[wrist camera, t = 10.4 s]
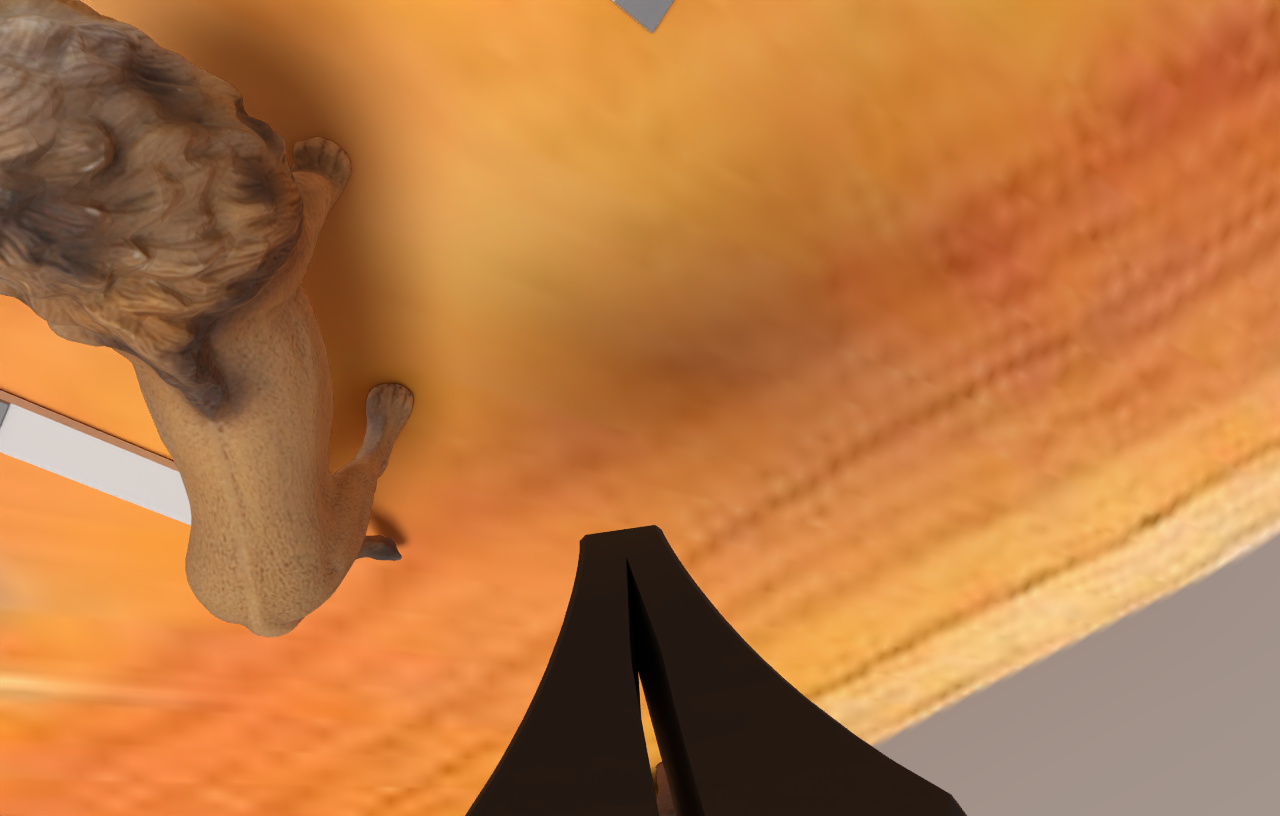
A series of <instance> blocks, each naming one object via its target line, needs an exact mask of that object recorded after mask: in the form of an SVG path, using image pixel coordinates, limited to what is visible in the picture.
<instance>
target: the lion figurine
mask: <svg viewBox="0 0 1280 816" xmlns="http://www.w3.org/2000/svg"><path fill="white" fill-rule="evenodd" d="M350 173H351V164H350V159H349V156H348V155H347V154H346V153H345V152H344V151H343V150H342V149H341V148H340V147H339V146H338V145H337V144H336V143H334V142H333V141H330V140H327V139H325V138H321V137H313V138H310V139H308V140H303V141H298V142H296V143H295V145H294V148H293V166H292V167H291V168H290V167H289V164H288V162H287V155H286V145H285V142H284V139H283V137H282V136H280V135H279V134H278V133H277V132H276V131H274V130H273V129H272V128H271V127H270V126H269V125H268V124H266V123H264V122H262V121H260V120H257V119H254V118H251V117H249V116H248V115H247V113H246V112H245V110H244V107H243V99H242V97H241V95H240V94H239V93H238V92H237V90H236V89H235V88H234V87H233V86H232V85H231V84H229V83H228V82H227V81H225V80H223V79H221V78H219V77H217V76H214V75H212V74H210V73H209V72H207V71H205V70H203V69H201V68H199V67H197V66H195V65H193V64H192V63H190V62H189V61H188V60H187V59H185V58H184V57H182V56H181V55H179V54H177V53H174V52H172V51H169V50H166V49H163V48H162V47H160V46H159V45H158V44H157V43H155V42H154V41H153V40H152V39H151V38H150V37H148V36H147V35H146V34H145V33H144V32H143V31H141V30H139V29H137V28H135V27H133V26H131V25H129V24H126V23H123V22H118V21H116V20H115V19H113V18H110V17H106V16H103V15H100V14H99V13H97V12H96V11H95V10H93V9H92V8H90V7H89V6H87V5H86V4H85V3H83V2H81V1H80V0H0V294H1V295H6V296H11V297H15V298H17V299H19V300H21V301H22V302H23V303H25V304H26V305H27V306H29V307H30V308H31V309H32V310H33V311H34V312H35V313H36V314H37V315H38V316H40V317H41V318H43V319H44V320H46V321H47V322H48V325H49V327H50V328H51V330H52V331H54V332H55V333H56V334H57V335H58V336H60V337H62V338H64V339H67V340H69V341H74V342H78V343H83V344H87V345H92V346H107V347H111V348H113V349H114V350H115V351H116V352H118V353H119V354H121V355H122V356H124V357H125V358H127V359H128V360H129V361H130V362H131V363H132V364H133V366H134V369H135V372H136V375H137V379H138V382H139V385H140V388H141V391H142V394H143V397H144V399H145V402H146V404H147V407H148V409H149V412H150V414H151V416H152V419H153V421H154V423H155V426H156V428H157V431H158V433H159V435H160V438H161V440H162V442H163V443H164V445H165V447H166V448H167V450H168V452H169V453H170V455H171V457H172V458H173V460H174V462H175V465H176V467H177V469H178V471H179V473H180V475H181V478H182V481H183V484H184V487H185V490H186V493H187V496H188V500H189V503H190V509H191V532H190V538H189V544H188V550H187V555H186V575H187V580H188V583H189V585H190V587H191V589H192V591H193V593H194V594H195V596H196V598H197V599H198V600H199V601H200V602H201V603H202V605H203V606H204V607H205V608H206V609H207V610H208V611H209V612H210V613H211V614H213V615H214V616H215V617H217V618H219V619H221V620H223V621H226V622H229V623H235V624H241V625H243V626H245V627H246V628H248V629H249V630H250V631H251V632H252V633H254V634H256V635H259V636H264V637H278V636H282V635H285V634H287V633H289V632H290V631H292V630H293V629H294V628H295V627H296V626H297V625H298V623H299V622H300V621H301V620H302V619H303V618H304V617H305V616H306V615H308V614H310V613H311V612H313V611H314V610H315V609H317V608H318V607H320V606H321V605H322V604H323V603H324V602H325V601H326V600H327V599H328V598H330V597H331V595H332V594H333V593H334V592H335V591H336V589H337V588H338V586H339V585H340V583H341V582H342V580H343V579H344V577H345V576H346V574H347V572H348V571H349V569H350V568H351V566H352V564H353V563H354V561H355V560H356V559H358V558H363V557H370V558H373V559H376V560H393V561H395V560H400V559H401V557H402V556H401V554H400V553H399V552H398V549H397V547H396V544H395V543H394V541H393V540H392V539H391V538H389V537H385V536H381V535H376V536H365V535H366V531H367V527H368V523H369V518H370V514H371V509H372V504H373V498H374V493H375V490H376V485H377V479H378V478H379V477H380V476H381V474H382V473H383V472H384V470H385V468H386V466H387V463H388V459H389V456H390V453H391V450H392V447H393V444H394V442H395V440H396V438H397V436H398V434H399V432H400V431H401V429H402V428H403V426H404V425H405V423H406V422H407V420H408V418H409V416H410V414H411V411H412V407H413V397H412V394H411V393H410V392H409V391H408V390H407V389H406V388H405V387H403V386H402V385H398V384H381V385H378V386H375V387H374V388H373V389H372V390H371V391H370V393H369V395H368V398H367V401H366V413H367V430H366V434H365V438H364V442H363V445H362V447H361V449H360V450H359V452H358V453H357V455H356V457H355V459H354V460H353V461H351V462H350V463H348V464H346V465H345V466H343V467H342V468H341V469H339V470H338V471H337V472H336V473H335V474H334V475H331V474H330V472H329V457H328V454H329V446H330V439H331V430H332V420H333V388H332V378H331V373H330V367H329V362H328V356H327V351H326V347H325V343H324V340H323V337H322V334H321V331H320V328H319V325H318V322H317V319H316V317H315V314H314V310H313V307H312V304H311V302H310V300H309V298H308V296H307V294H306V292H305V290H304V288H303V287H302V284H301V281H302V279H303V278H304V275H305V273H306V271H307V268H308V266H309V263H310V261H311V259H312V256H313V254H314V250H315V247H316V243H317V239H318V236H319V233H320V230H321V228H322V226H323V224H324V222H325V219H326V216H327V214H328V212H329V211H330V209H331V208H332V206H333V205H334V204H335V202H336V201H337V199H338V198H339V196H340V194H341V193H342V191H343V190H344V188H345V185H346V183H347V181H348V179H349V176H350Z"/></svg>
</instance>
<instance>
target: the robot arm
mask: <svg viewBox="0 0 1280 816" xmlns="http://www.w3.org/2000/svg"><path fill="white" fill-rule="evenodd" d="M638 672H639V676H640V679H641V683H642V687H643V691H644V695H645V698H646V702H647V706H648V710H649V714H650V717H651V721H652V725H653V728H654V732H655V736H656V740H657V743H658V747H659V751H660V755H661V758H662V762H663V766H664V770H665V773H666V777H667V781H668V785H669V788H670V793H671V797H672V801H673V806H674V810H675V815H676V816H967V815H966V814H965V812H964V811H963V810H962V808H961V807H960V806H959V804H958V803H957V801H956V800H955V799H954V798H953V796H952V795H951V794H949V793H947V792H946V791H944V790H942V789H941V788H939V787H937V786H936V785H934V784H932V783H930V782H928V781H927V780H925V779H924V778H922V777H920V776H918V775H917V774H915V773H913V772H912V771H910V770H908V769H906V768H904V767H903V766H901V765H899V764H898V763H896V762H895V761H893V760H891V759H889V758H888V757H887V756H885V755H883V754H882V753H881V752H879V751H878V750H877V749H875V748H874V747H872V746H871V745H869V744H868V743H866V742H865V741H863V740H862V739H860V738H859V737H857V736H856V735H854V734H853V733H852V732H850V731H849V730H848V729H847V728H845V727H844V726H843V725H841V724H840V723H839V722H837V721H836V720H835V719H833V718H832V717H831V716H829V715H828V714H827V713H825V712H824V711H823V710H822V709H820V708H819V707H818V706H816V705H815V704H814V703H812V702H811V701H810V700H808V699H807V698H806V697H805V696H804V695H802V694H801V693H800V692H799V691H798V690H797V689H795V688H794V687H793V686H792V685H791V684H790V683H789V682H787V681H786V680H785V679H784V678H783V677H782V676H781V675H779V674H778V673H777V672H776V671H775V670H774V669H773V668H772V667H771V666H770V665H769V664H768V663H767V662H765V661H764V660H763V659H762V658H761V657H760V656H759V655H758V654H757V653H756V652H755V651H754V650H753V649H752V648H751V647H750V646H749V645H748V644H747V643H746V642H745V640H744V639H743V638H742V637H741V636H740V635H739V634H738V633H737V632H736V631H735V630H734V629H733V627H732V626H731V625H730V624H729V623H728V622H727V621H726V620H725V619H724V617H723V616H722V615H721V614H720V613H719V612H718V610H717V609H716V608H715V607H714V606H713V604H712V603H711V602H710V601H709V599H708V598H707V597H706V596H705V594H704V593H703V592H702V591H701V589H700V588H699V587H698V586H697V584H696V583H695V582H694V580H693V579H692V577H691V576H690V575H689V573H688V572H687V571H686V569H685V568H684V566H683V565H682V563H681V562H680V560H679V559H678V557H677V556H676V554H675V553H674V551H673V550H672V548H671V546H670V545H669V543H668V541H667V539H666V538H665V536H664V534H663V532H662V530H661V529H660V528H659V527H657V526H656V525H651V526H644V527H637V528H631V529H624V530H617V531H610V532H603V533H596V534H589V535H585V536H584V537H583V538H582V539H581V540H580V553H579V561H578V567H577V573H576V578H575V582H574V586H573V591H572V594H571V598H570V601H569V605H568V608H567V611H566V615H565V618H564V622H563V625H562V628H561V631H560V634H559V636H558V639H557V642H556V644H555V647H554V650H553V652H552V655H551V658H550V660H549V663H548V666H547V668H546V670H545V673H544V675H543V677H542V680H541V682H540V684H539V687H538V689H537V691H536V693H535V695H534V698H533V700H532V702H531V704H530V706H529V708H528V710H527V712H526V714H525V716H524V718H523V720H522V722H521V724H520V726H519V727H518V729H517V731H516V733H515V735H514V737H513V739H512V740H511V742H510V744H509V746H508V748H507V750H506V752H505V753H504V755H503V757H502V758H501V760H500V762H499V764H498V765H497V767H496V769H495V770H494V772H493V774H492V775H491V777H490V778H489V780H488V781H487V783H486V784H485V786H484V788H483V789H482V791H481V792H480V794H479V795H478V797H477V798H476V800H475V801H474V803H473V804H472V806H471V807H470V809H469V811H468V812H467V814H466V815H465V816H659V812H658V806H657V801H656V796H655V791H654V785H653V780H652V775H651V769H650V764H649V759H648V753H647V748H646V742H645V737H644V731H643V726H642V720H641V707H640V692H639V676H638Z"/></svg>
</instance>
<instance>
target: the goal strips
mask: <svg viewBox="0 0 1280 816" xmlns="http://www.w3.org/2000/svg"><path fill="white" fill-rule="evenodd" d="M611 1H612V2H613V3H615V4H616V5H617V6H618V7H620V8H621V9H622V10H623V11H624V12H626V13H627V14H628V15H629V16H630V17H632V18H633V19H634V20H635V21H637V22H638V23H639V24H640V25H641V26H643V27H644V28H645V29H646V30H647V31H649V32H650V33H653V32H654V30H655V29H656V27H657V25H658V24H659V22H660V21H661V19H662V18H663V16H664V15H665V13H666V11H667V10H668V8H669V7H670V5H671V4H672V2H673V0H611ZM0 452H1V453H4V454H6V455H9V456H12V457H14V458H17V459H19V460H22V461H25V462H27V463H30V464H32V465H35V466H38V467H40V468H43V469H45V470H48V471H51V472H53V473H56V474H58V475H61V476H64V477H66V478H69V479H71V480H74V481H77V482H79V483H82V484H84V485H87V486H90V487H92V488H95V489H97V490H100V491H103V492H105V493H108V494H110V495H113V496H116V497H118V498H121V499H123V500H126V501H129V502H131V503H134V504H136V505H139V506H142V507H144V508H147V509H149V510H152V511H155V512H157V513H160V514H162V515H165V516H168V517H170V518H173V519H175V520H178V521H181V522H183V523H186V524H188V525H191V509H190V503H189V500H188V496H187V493H186V490H185V487H184V484H183V481H182V478H181V475H180V473H179V471H178V469H177V467H176V465H175V462H173V461H171V460H168V459H166V458H164V457H161V456H159V455H156V454H154V453H152V452H149V451H147V450H144V449H142V448H139V447H137V446H135V445H132V444H130V443H127V442H125V441H123V440H120V439H118V438H115V437H113V436H110V435H108V434H106V433H103V432H101V431H98V430H96V429H93V428H91V427H89V426H86V425H84V424H81V423H79V422H77V421H74V420H72V419H69V418H67V417H64V416H62V415H60V414H57V413H55V412H52V411H50V410H47V409H45V408H43V407H40V406H38V405H35V404H33V403H31V402H28V401H26V400H23V399H21V398H18V397H16V396H14V395H11V394H9V393H6V392H4V391H1V390H0Z"/></svg>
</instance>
